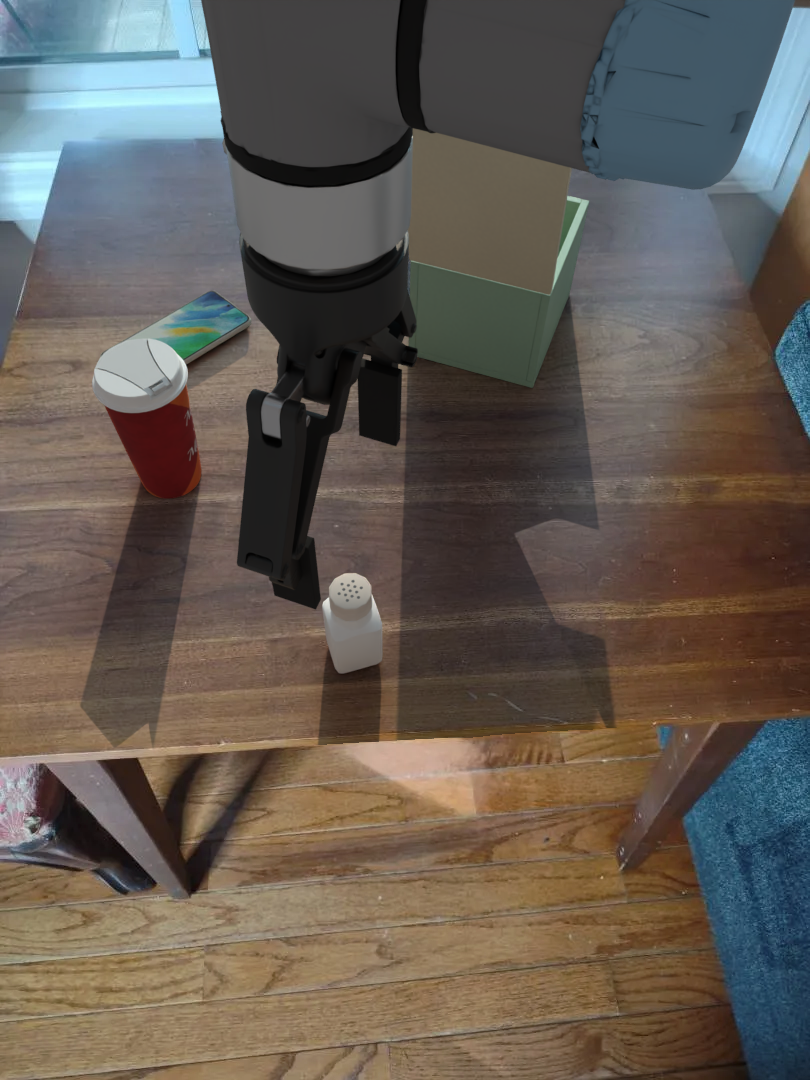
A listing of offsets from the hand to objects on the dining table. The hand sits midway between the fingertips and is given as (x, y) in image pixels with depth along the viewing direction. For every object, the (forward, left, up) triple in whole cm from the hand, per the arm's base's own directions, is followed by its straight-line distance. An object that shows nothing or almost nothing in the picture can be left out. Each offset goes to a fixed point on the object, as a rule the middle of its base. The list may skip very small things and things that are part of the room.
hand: (341, 512), depth 55 cm
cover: (+1, -33, +1) cm, 33 cm away
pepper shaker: (0, 0, -19) cm, 19 cm away
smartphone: (+31, -27, -19) cm, 45 cm away
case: (+1, -42, -19) cm, 46 cm away
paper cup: (+23, -11, -19) cm, 32 cm away
